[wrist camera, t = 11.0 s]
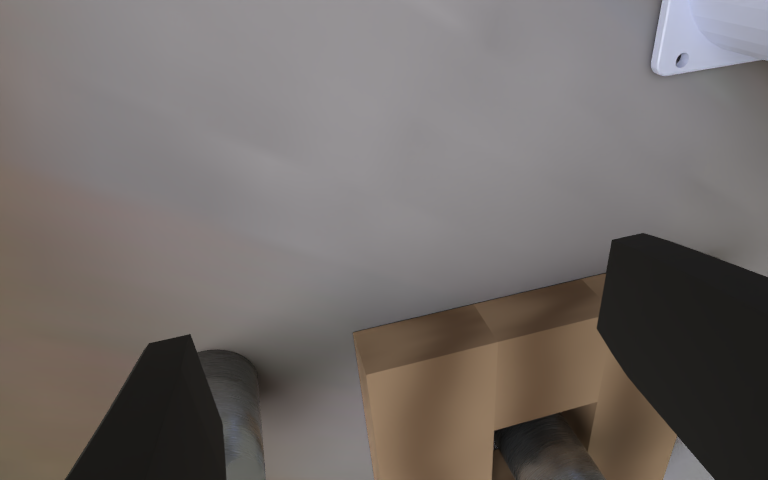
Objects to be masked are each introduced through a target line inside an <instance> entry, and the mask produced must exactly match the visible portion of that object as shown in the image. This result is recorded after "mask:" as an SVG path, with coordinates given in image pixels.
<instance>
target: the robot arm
mask: <svg viewBox="0 0 768 480" xmlns="http://www.w3.org/2000/svg"><path fill="white" fill-rule="evenodd" d="M680 54H681V58H680V60H679V62H678V63H677V64H676V60H677V57H678V56H679V55H680ZM759 60H766V61H768V0H662V5H661V11H660V16H659V22H658V27H657V33H656V38H655V44H654V49H653V55H652V60H651V68H652V70H653V72H655V73H656V74H658V75H661V76H670V75H676V74H682V73H687V72H693V71H699V70H705V69H711V68H717V67H723V66H729V65H735V64H741V63H747V62H753V61H759ZM596 329H597V330H598V332H599V333H600V335H601V337H602V338H603V340H604V341H605V343H606V345H607V346H608V348H609V350H610V351H611V353H612V354H613V356H614V357H615V359H616V360H617V362H618V363H619V365H620V366H621V368H622V369H623V371H624V372H625V374H626V375H627V377H628V378H629V379H630V380H631V382H632V383H633V384H634V385H635V386H636V388H637V389H638V390H639V391H640V392H641V394H642V395H643V396H644V397H645V398H646V400H647V401H648V402H649V403H650V404H651V405H652V407H653V408H654V409H655V410H656V411H657V413H658V414H659V415H660V416H661V417H662V418H663V420H664V421H665V422H666V423H667V424H668V425H669V427H670V428H671V429H672V430H673V431H674V432H675V434H676V435H677V436H678V437H679V438H680V439H681V441H682V442H683V443H684V444H685V445H686V446H687V448H688V449H689V450H690V451H691V452H692V453H693V455H694V456H695V457H696V458H697V459H698V460H699V462H700V463H701V464H702V465H703V466H704V467H705V469H706V470H707V471H708V472H709V473H710V474H711V476H712V477H713V478H714V479H715V480H768V277H766V276H763V275H760V274H757V273H755V272H752V271H749V270H747V269H744V268H741V267H739V266H736V265H733V264H731V263H728V262H725V261H723V260H720V259H717V258H715V257H712V256H709V255H707V254H704V253H701V252H699V251H696V250H693V249H690V248H687V247H685V246H682V245H679V244H676V243H673V242H670V241H667V240H664V239H661V238H658V237H655V236H651V235H648V234H644V233H641V234H637V235H632V236H628V237H623V238H619V239H614V240H612V243H611V248H610V254H609V260H608V265H607V271H606V277H605V283H604V288H603V294H602V300H601V306H600V311H599V317H598V323H597V328H596ZM65 480H227V478H226V461H225V447H224V434H223V423H222V420H221V417H220V415H219V412H218V409H217V406H216V404H215V401H214V398H213V395H212V393H211V390H210V387H209V384H208V382H207V379H206V376H205V373H204V371H203V368H202V365H201V362H200V360H199V357H198V354H197V351H196V349H195V346H194V343H193V340H192V338H191V335H190V334H189V335H185V336H180V337H176V338H171V339H167V340H162V341H158V342H153V343H149V344H148V346H147V347H146V348H145V350H144V351H143V353H142V354H141V356H140V358H139V359H138V361H137V363H136V364H135V366H134V368H133V370H132V371H131V373H130V375H129V377H128V378H127V380H126V382H125V383H124V385H123V387H122V388H121V390H120V392H119V394H118V395H117V397H116V399H115V400H114V402H113V404H112V405H111V407H110V409H109V410H108V412H107V414H106V415H105V417H104V419H103V420H102V422H101V424H100V425H99V427H98V428H97V430H96V431H95V433H94V435H93V436H92V438H91V439H90V441H89V442H88V444H87V446H86V447H85V449H84V450H83V452H82V454H81V455H80V457H79V458H78V460H77V461H76V463H75V465H74V466H73V468H72V469H71V471H70V472H69V474H68V475H67V477H66V479H65Z"/></svg>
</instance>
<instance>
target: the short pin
mask: <svg viewBox="0 0 768 480" xmlns="http://www.w3.org/2000/svg"><path fill="white" fill-rule="evenodd" d="M197 354H198V357H199V360H200V362H201V365H202V368H203V371H204V373H205V376H206V379H207V382H208V384H209V387H210V390H211V393H212V395H213V398H214V401H215V404H216V406H217V409H218V412H219V415H220V417H221V420H222V423H223V434H224V447H225V461H226V478H227V480H266V477H265V464H264V451H263V438H262V426H261V413H260V400H259V387H258V376H257V372H256V369H255V368H254V366H253V365H252V363H251V362H250V361H249V360H247V359H246V358H245V357H243V356H241V355H239V354H237V353H234V352H230V351H225V350H207V351H202V352H198V353H197Z"/></svg>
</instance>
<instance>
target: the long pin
mask: <svg viewBox="0 0 768 480" xmlns="http://www.w3.org/2000/svg"><path fill="white" fill-rule="evenodd" d="M494 441H495V443H496V444H497V446H498V448H499V450H500V452H501V454H502V456H503V458H504V460H505V462H506V464H507V466H508V468H509V469H510V471H511V473H512V475H513V477H514V479H515V480H606V478H605V477H604V475H603V474H602V473H601V471H600V470H599V468H598V467H597V465H596V464H595V462H594V461H593V459H592V458H591V456H590V455H589V453H588V452H587V451H586V449H585V448H584V446H583V445H582V443H581V442H580V440H579V439H578V437H577V436H576V434H575V433H574V431H573V430H572V429H571V427H570V426H569V424H568V423H567V421H566V420H565V418H564V417H563V415H562V414H561V412H559V413H555V414H552V415H548V416H545V417H541V418H537V419H534V420H530V421H527V422H523V423H520V424H516V425H512V426H509V427H505V428H502V429H498V430H495V431H494Z"/></svg>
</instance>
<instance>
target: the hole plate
mask: <svg viewBox="0 0 768 480" xmlns="http://www.w3.org/2000/svg"><path fill="white" fill-rule="evenodd" d="M605 277H606V273H605V274H600V275H596V276H592V277H588V278H583V279H579V280H575V281H571V282H566V283H562V284H558V285H554V286H549V287H545V288H541V289H537V290H532V291H528V292H524V293H519V294H515V295H511V296H507V297H502V298H498V299H494V300H490V301H485V302H481V303H477V304H473V305H468V306H464V307H460V308H456V309H451V310H447V311H443V312H438V313H434V314H430V315H426V316H421V317H417V318H413V319H409V320H404V321H400V322H396V323H392V324H387V325H383V326H379V327H375V328H370V329H366V330H362V331H358V332H353V337H354V344H355V350H356V357H357V364H358V371H359V378H360V384H361V391H362V398H363V405H364V412H365V418H366V425H367V432H368V439H369V445H370V452H371V459H372V466H373V473H374V479H375V480H515V479H514V477H513V475H512V473H511V471H510V469H509V468H508V466H507V464H506V462H505V460H504V458H503V456H502V454H501V452H500V450H499V449H496V450H493V441H494V431H495V430H498V429H502V428H505V427H509V426H512V425H516V424H520V423H523V422H527V421H530V420H534V419H537V418H541V417H545V416H548V415H552V414H555V413H559V412H562V415H563V417H564V418H565V420H566V421H567V423H568V424H569V426H570V427H571V429H572V430H573V431H574V433H575V434H576V436H577V437H578V439H579V440H580V442H581V443H582V445H583V446H584V448H585V449H586V451H587V452H588V453H589V455H590V456H591V458H592V459H593V461H594V462H595V464H596V465H597V467H598V468H599V470H600V471H601V473H602V474H603V475H604V477H605V478H606V480H663V478H664V474H665V471H666V468H667V465H668V462H669V459H670V456H671V453H672V450H673V447H674V444H675V441H676V438H677V435H676V434H675V432H674V431H673V430H672V429H671V428H670V427H669V425H668V424H667V423H666V422H665V421H664V420H663V418H662V417H661V416H660V415H659V414H658V413H657V411H656V410H655V409H654V408H653V407H652V405H651V404H650V403H649V402H648V401H647V400H646V398H645V397H644V396H643V395H642V394H641V392H640V391H639V390H638V389H637V388H636V386H635V385H634V384H633V383H632V382H631V380H630V379H629V378H628V377H627V375H626V374H625V372H624V371H623V369H622V368H621V366H620V365H619V363H618V362H617V360H616V359H615V357H614V356H613V354H612V353H611V351H610V350H609V348H608V346H607V345H606V343H605V341H604V340H603V338H602V337H601V335H600V333H599V332H598V330H597V329H596V328H597V323H598V317H599V311H600V306H601V300H602V294H603V288H604V283H605Z"/></svg>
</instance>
